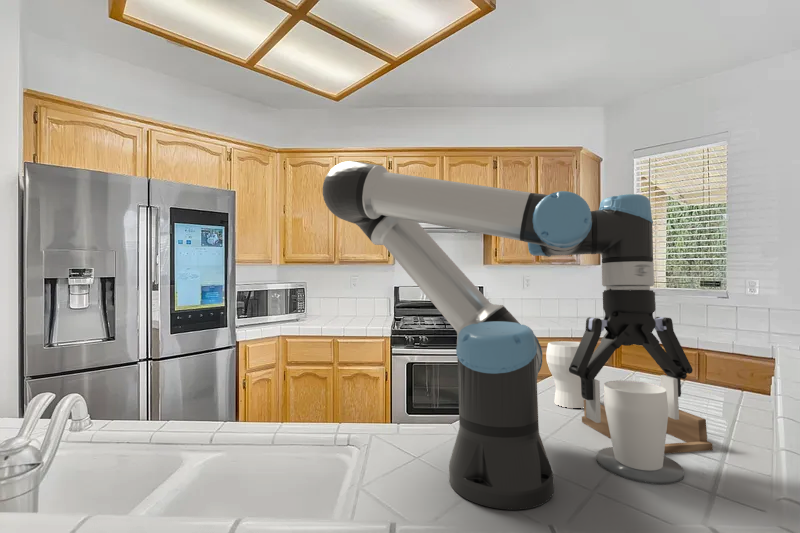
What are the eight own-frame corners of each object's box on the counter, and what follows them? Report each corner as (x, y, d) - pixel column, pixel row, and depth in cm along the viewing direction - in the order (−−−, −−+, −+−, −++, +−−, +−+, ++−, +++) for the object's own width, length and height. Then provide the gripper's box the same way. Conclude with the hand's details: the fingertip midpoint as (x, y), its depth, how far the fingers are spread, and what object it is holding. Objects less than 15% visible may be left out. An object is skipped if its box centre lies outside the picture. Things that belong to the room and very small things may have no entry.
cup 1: (596, 402, 97) (593, 342, 98) (592, 413, 88) (588, 347, 89) (552, 396, 103) (550, 340, 104) (544, 406, 94) (541, 345, 95)
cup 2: (604, 466, 61) (600, 389, 61) (608, 446, 68) (605, 378, 69) (674, 480, 56) (669, 396, 57) (670, 457, 64) (665, 383, 64)
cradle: (639, 455, 66) (637, 425, 66) (582, 422, 83) (580, 398, 83) (712, 450, 67) (710, 421, 68) (641, 418, 84) (640, 395, 85)
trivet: (629, 487, 55) (629, 482, 56) (581, 452, 67) (581, 449, 67) (704, 481, 57) (704, 476, 57) (644, 448, 69) (644, 444, 69)
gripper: (569, 288, 59) (573, 429, 58) (716, 288, 62) (722, 423, 60) (545, 288, 66) (548, 413, 65) (677, 288, 69) (682, 408, 68)
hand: (632, 418), depth 63 cm, fingers open, 13 cm apart
